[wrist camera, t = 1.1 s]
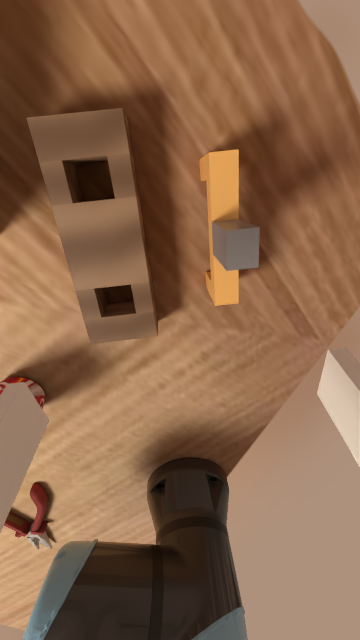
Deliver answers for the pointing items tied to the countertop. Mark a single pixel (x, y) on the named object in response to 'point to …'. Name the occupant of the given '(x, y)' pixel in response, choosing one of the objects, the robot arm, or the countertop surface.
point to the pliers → (39, 526)
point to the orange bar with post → (226, 227)
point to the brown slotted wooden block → (98, 220)
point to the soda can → (32, 386)
